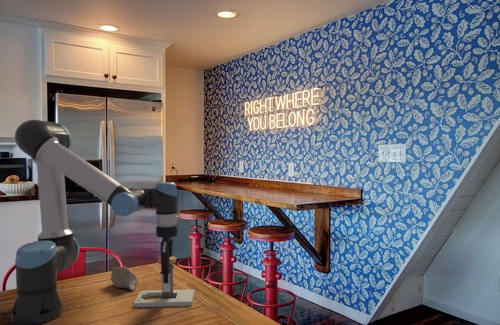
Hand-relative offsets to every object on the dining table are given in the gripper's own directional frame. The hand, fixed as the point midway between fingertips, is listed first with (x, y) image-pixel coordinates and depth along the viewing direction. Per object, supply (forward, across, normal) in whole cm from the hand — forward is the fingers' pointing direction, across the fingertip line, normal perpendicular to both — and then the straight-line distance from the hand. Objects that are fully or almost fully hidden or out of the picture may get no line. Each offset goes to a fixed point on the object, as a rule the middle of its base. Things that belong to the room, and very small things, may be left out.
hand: (167, 289), depth 143 cm
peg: (+3, 0, 0) cm, 3 cm away
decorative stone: (+4, +17, +19) cm, 26 cm away
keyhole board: (+4, 0, +1) cm, 4 cm away
